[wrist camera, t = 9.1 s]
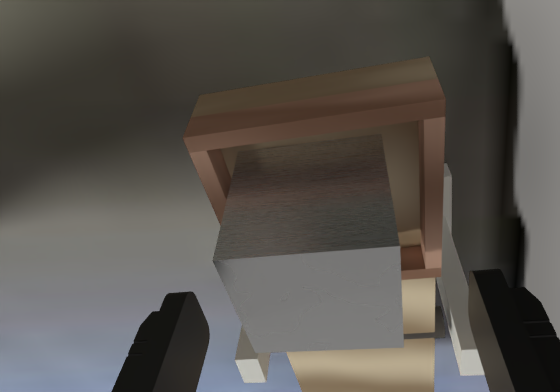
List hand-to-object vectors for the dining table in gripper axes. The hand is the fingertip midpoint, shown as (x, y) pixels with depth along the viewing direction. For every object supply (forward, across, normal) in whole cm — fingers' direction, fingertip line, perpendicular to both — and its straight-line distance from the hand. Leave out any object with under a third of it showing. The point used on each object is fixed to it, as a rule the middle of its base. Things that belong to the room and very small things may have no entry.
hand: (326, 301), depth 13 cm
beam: (+7, 0, +10) cm, 12 cm away
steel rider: (+5, 0, 0) cm, 5 cm away
